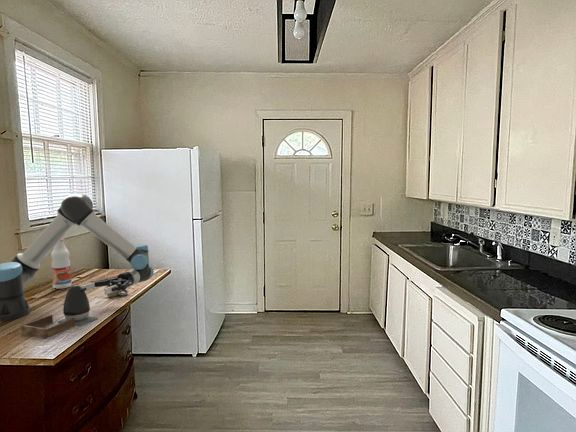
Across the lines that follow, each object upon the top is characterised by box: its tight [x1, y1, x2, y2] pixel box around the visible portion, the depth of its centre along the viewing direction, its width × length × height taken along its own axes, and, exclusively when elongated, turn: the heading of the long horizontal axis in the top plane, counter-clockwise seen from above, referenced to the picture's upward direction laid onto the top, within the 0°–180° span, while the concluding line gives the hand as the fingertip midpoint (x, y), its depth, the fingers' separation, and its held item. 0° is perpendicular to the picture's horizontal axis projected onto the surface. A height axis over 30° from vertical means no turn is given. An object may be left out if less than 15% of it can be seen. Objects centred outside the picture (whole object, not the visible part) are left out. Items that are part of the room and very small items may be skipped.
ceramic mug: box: [105, 283, 129, 298], centre depth 201 cm, size 11×8×8 cm
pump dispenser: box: [62, 284, 91, 321], centre depth 163 cm, size 10×10×15 cm
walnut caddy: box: [20, 314, 76, 339], centre depth 153 cm, size 14×13×4 cm
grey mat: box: [57, 315, 98, 327], centre depth 164 cm, size 13×9×1 cm
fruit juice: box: [50, 238, 73, 290], centre depth 216 cm, size 9×9×28 cm
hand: (93, 290), depth 171 cm, fingers open, 13 cm apart
